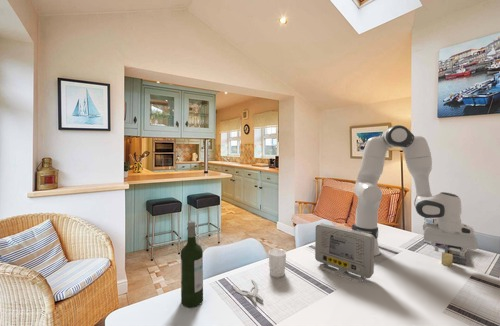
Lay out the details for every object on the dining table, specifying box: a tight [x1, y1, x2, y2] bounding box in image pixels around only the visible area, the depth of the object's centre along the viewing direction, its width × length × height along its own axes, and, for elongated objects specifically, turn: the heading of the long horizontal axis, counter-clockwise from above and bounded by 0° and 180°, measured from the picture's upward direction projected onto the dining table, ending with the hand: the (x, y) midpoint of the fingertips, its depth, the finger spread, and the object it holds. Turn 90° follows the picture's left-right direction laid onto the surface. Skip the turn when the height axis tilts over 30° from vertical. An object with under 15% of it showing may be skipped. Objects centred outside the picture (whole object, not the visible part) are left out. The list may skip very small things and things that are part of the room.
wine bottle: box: [180, 220, 204, 309], centre depth 86 cm, size 8×8×30 cm
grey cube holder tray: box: [444, 244, 467, 266], centre depth 126 cm, size 8×20×3 cm, turn 140°
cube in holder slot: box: [450, 248, 460, 256], centre depth 122 cm, size 4×4×5 cm
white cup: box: [268, 248, 287, 278], centre depth 107 cm, size 8×8×10 cm
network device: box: [314, 222, 375, 283], centre depth 108 cm, size 26×9×20 cm, turn 47°
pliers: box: [232, 279, 264, 306], centre depth 92 cm, size 10×2×15 cm
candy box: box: [423, 217, 441, 246], centre depth 143 cm, size 14×6×16 cm, turn 104°
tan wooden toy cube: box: [441, 251, 453, 268], centre depth 116 cm, size 4×4×5 cm
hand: (448, 253), depth 116 cm, fingers open, 8 cm apart
